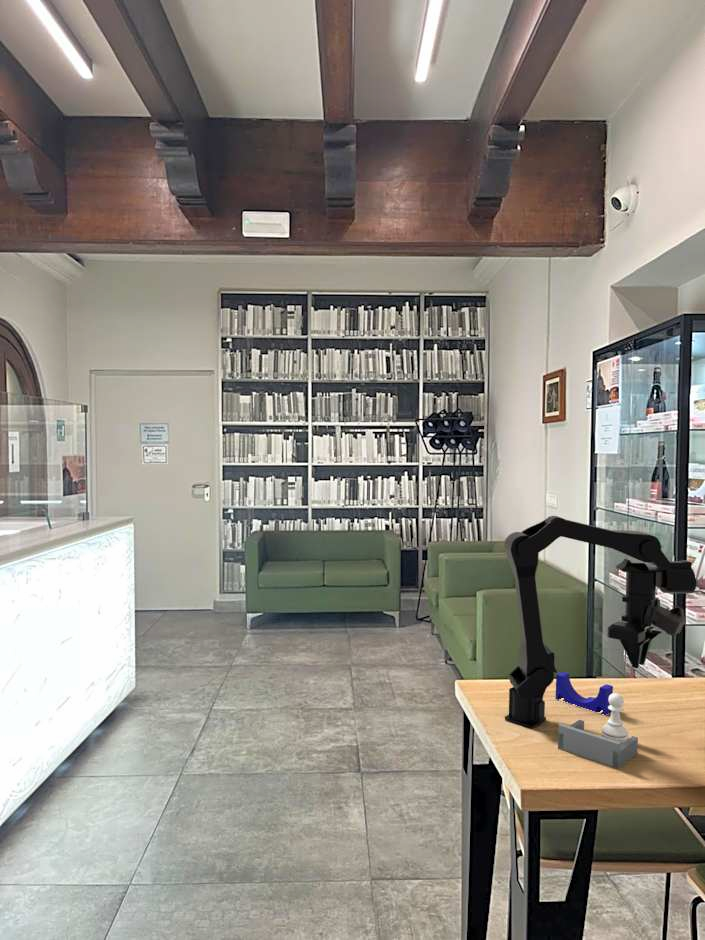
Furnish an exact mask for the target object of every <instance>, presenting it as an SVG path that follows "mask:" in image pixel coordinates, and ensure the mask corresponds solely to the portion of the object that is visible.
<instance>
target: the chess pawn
mask: <svg viewBox="0 0 705 940" xmlns="http://www.w3.org/2000/svg"><path fill="white" fill-rule="evenodd" d="M608 701H609V703H610V706H608V709H610V710H612V711H611V713H610V717H609V719H607V721H606V722H607V723H606V724H605V725H603V726H602V727H601V732H600V733H601V735H600V736H602V737H605V738H608V739H611V740H614V741H617V742H621V744H623V743H624V742H625V741H627V740H628V739H629V733H630V732H629V731H628V730H627V729H626V727H625V726H624V722H623V721H622V720H621V713H620V712H624V708H623V707H622V706H623V705H624V703H625V702H624V701H625V700H624V698H623V696H622V695H621V694H620V693H617V692H613V694H611V695H610V696H609V698H608Z"/></svg>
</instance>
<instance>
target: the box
mask: <svg viewBox="0 0 705 940" xmlns="http://www.w3.org/2000/svg"><path fill="white" fill-rule="evenodd" d="M557 734H558V737H557V749H559V748H560V749H559V750H561V751H565V752H567V751H568V753H570V752H571V754H574V755H577V756H580V757H582V758H585V759H589V760H591V761H594V762H597V763H600V764H603V765H605V766H607V767H611V768H614V769H617V770H619V769H620V768H622V766H624V765H625V764H626V763H627V762H628V761H630V760H632V758H634V756H636V755H637V754H638V751H639V750H638V749H639V747H638V746H639V745H638V744H639V737H637V736H635V735H632V736H631V737H628V740H627V741H625V742H624V743H621V742H617V741H614V740H611V739H608V738H605V737H602V735H599V734H595V733H593V732H589V731H585V721H584V720H582V719H578V720H577V721H575V722H573V723H572V724H570V725H567V724H564V723H560V724H558V733H557Z"/></svg>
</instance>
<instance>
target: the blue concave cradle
mask: <svg viewBox="0 0 705 940" xmlns="http://www.w3.org/2000/svg"><path fill="white" fill-rule="evenodd" d="M613 686H614V685H610V684H606V683H605V684H603V685H602V686H600V687H599V691H598V694H597V696H596V697H592V696H590V697H585V696H582V695H580V694H579V693H578V692H577V691H576V690H575V688H574V687H573V685H572V682H571V679H570V674H569V672H565V671H562V672H560V673H556V674H555V700H556V699H558V700H559V699H561V698H564V700H563V701H565V702H568V703H571V704H575V705H577V706H580V707H583V708H586V709H589V710H592V711H595V712H600V711H601V710H603V712H602V713H601V714H600V715H602V714H604V715H603V716H605V715H606V714H608V713H610V712H611V711H612V710H610V709H608V706H610V703H609V701H608V698H609V696H610V695H611V694H613V693H614V688H613ZM558 700H557V701H558ZM577 706H576V707H577ZM580 707H579V708H580ZM583 708H582V709H583ZM586 709H585V710H586ZM589 710H588V711H589ZM592 711H591V712H592ZM595 712H594V713H595ZM610 714H611V713H610ZM608 715H609V714H608ZM606 716H607V715H606Z"/></svg>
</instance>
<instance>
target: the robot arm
mask: <svg viewBox="0 0 705 940" xmlns="http://www.w3.org/2000/svg"><path fill="white" fill-rule="evenodd" d="M561 537H562V538H566V539H570V540H573V541H574V540H575V541H578V542H579V541H580V542H582V543H587V544H592V545H595V546H600V547H605V548H608V549H612V550H614V551H617V552H619V553H621V554H624V555H626V556H628V557H631V558H633V559H635V560H638V561H641V562H632V561H631V560H629V559H628V558H624V559H623V560H622V561H621V562H620V563H618V564H617V565H616V567H615V568H616V569H617V570H619V571H621V572H623V573H626V579H625V581H626V582H625V583H626V584H625V595H623V596H622V597H621V599H622V601H621V602H624V603H625V610H624V611H625V613H624V614H623V615H621V621H616V622H614V623H612V624H610V625H609V626H608V627H607V637H608V638H609V639H614V640H619V642H620V644H621V645H622V647H623V649H624V651H625V654H626V656H627V658H628V660H629V662H630V665H631V668H634V669H638V668H639V667H640V665H641V666H643V665H645V663H646V659H647V657H648V654H649V651H650V648H651V645H652V642H653V640H654V639H656V638H657V637H658V636H660V635H661V634H662V632H663V631H664V632H665V633H666V634H667V635H669V636H672V637H675V636H677V634H680V633H681V631H682V629H683V627H684V625H686V623H687V621H686V619H687V617H686V616H685V609H684V608H682V607H680V606H678V605H677V606H674V607H672V608H671V609H670V608H669V607H666V608H665V607H664V606H661V600H660V599H659V597H657V596H656V595H657V593H656V592H657V591H656V589H659V590H660V592H661V593H663V594H693V593H695V591H696V588H697V583H698V580H697V578H696V575H695V571H694V569H693V568H692V567H693V565H692V563H693V562H691V561H689V560H687V559H686V560H685V559H683V560H669V558H667V556H666V555H665V553H664V552H663V551H662V545H661V542H660V540H659V538H658V537H656V536H655V535H652V534H649V533H646V532H642V531H638V530H625V529H624V530H612V529H608V528H603V527H599V526H594V525H591V524H585V523H582V522H578V521H573V520H569V519H565V518H563V517H561V516H558V515H551V516H548V517H547V518H545V519H544V520H542V521H540V522H539V523H536V524H533V525H531V526H529V527H527V528H525V529H524V530H522V531H515V532H512V533H510V534H509V535H507V537H506V538H505V540H504V542H503V543H504V552H505V555H506V557H507V561H508V564H509V566H510V569H511V571H512V574H513V577H514V582H515V583H514V584H515V592H516V599H517V606H518V607H517V608H518V617H519V623H520V632H521V645H520V649H519V660H518V665H517V666H516V667H515V668H514V669H513V670H512V671H510V673H508V679H509V682H510V684H511V685H512V687H510V688H508V690H509V691H508V692H509V693H508V695H509V696H508V714H507V715H505V716H504V720H505V721H509V722H511V723H514V724H518V725H521V726H524V727H527V728H528V729H529V728H530V729H533V728H534V727H536V726H538V725H540V724H541V723H543V722H545V721H546V720H547V717H546V716H545V709H546V706H545V705H546V702H545V700H544V694H545V693H546V689H547V688H548V687H550V685H551V684H553V682H554V680H555V674H558V671H557V669H556V667H555V653H554V651H553V650H552V649H551V648H550V647H549V646H548V645H547V644H544V641H543V640H544V639H543V631H542V622H541V621H542V620H541V614H540V607H539V599H538V598H539V597H538V591H537V590H538V589H537V581H536V580H537V579H536V574H537V570H538V565H539V555H540V554H539V553H541V551H543V550H545V549H547V548H548V547H549V546H551V544H552V543H554V542H555V541H556V540H558V539H559V538H561ZM646 563H648V564H651V565H653V566H654V567H652V566H651V567H650V566H648V565H647V564H646ZM656 628H658V629H660V630H656ZM661 630H662V631H661Z"/></svg>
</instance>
